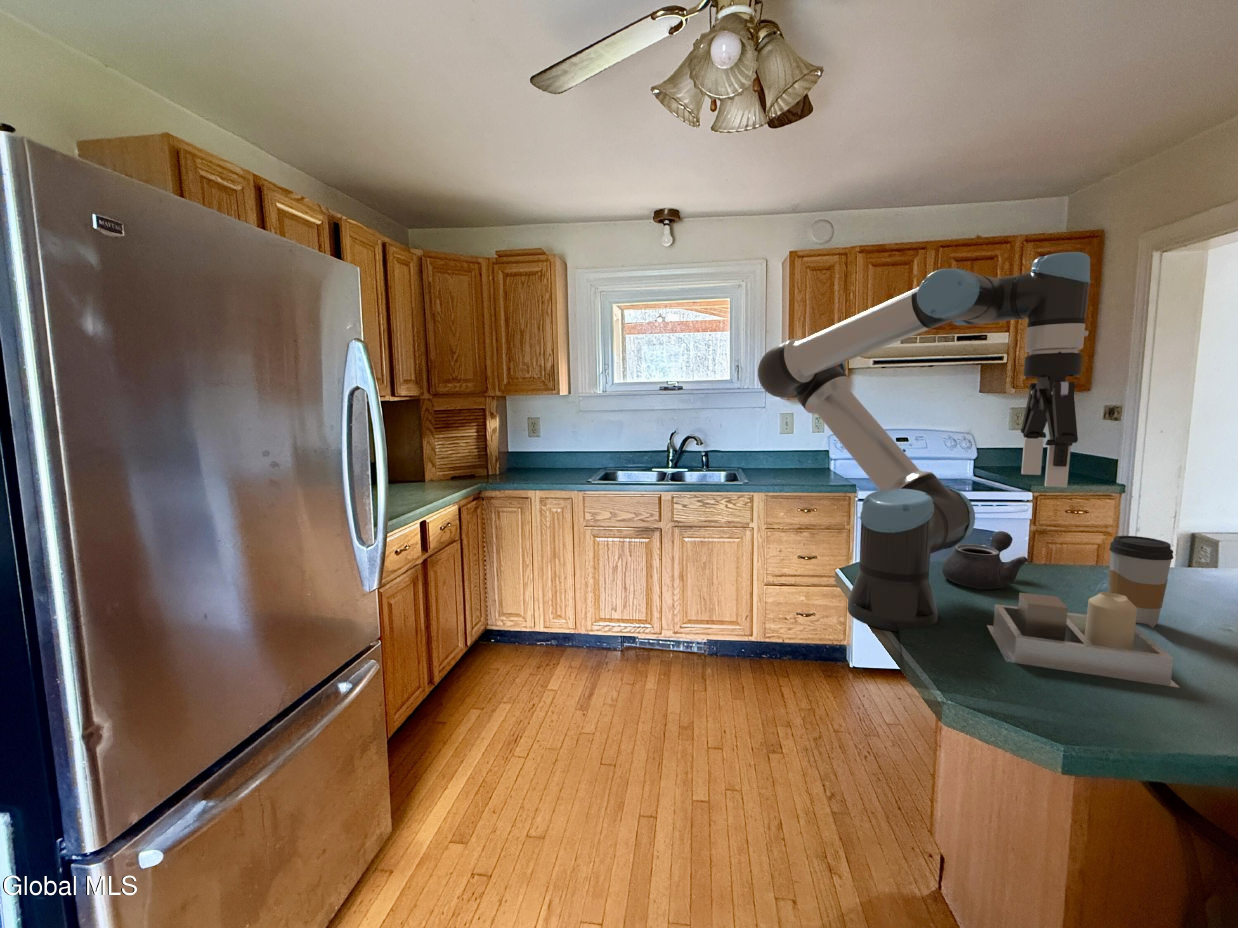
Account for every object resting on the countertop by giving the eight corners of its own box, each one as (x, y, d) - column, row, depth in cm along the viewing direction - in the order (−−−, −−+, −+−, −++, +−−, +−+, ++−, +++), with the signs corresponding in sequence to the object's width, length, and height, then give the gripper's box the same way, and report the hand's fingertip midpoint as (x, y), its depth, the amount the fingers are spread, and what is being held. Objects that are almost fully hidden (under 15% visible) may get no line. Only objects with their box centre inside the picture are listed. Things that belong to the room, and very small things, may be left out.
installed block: (1023, 651, 86) (1027, 603, 85) (1015, 638, 91) (1019, 592, 90) (1063, 657, 84) (1067, 607, 83) (1052, 643, 89) (1056, 596, 88)
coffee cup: (1178, 632, 94) (1188, 548, 92) (1121, 629, 96) (1131, 546, 94) (1142, 613, 102) (1151, 535, 100) (1091, 610, 104) (1099, 534, 102)
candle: (1107, 667, 81) (1114, 602, 80) (1073, 649, 86) (1079, 589, 85) (1141, 664, 81) (1149, 600, 80) (1105, 647, 87) (1112, 587, 86)
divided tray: (1005, 667, 83) (1008, 636, 83) (986, 630, 96) (988, 603, 95) (1178, 694, 75) (1183, 659, 75) (1132, 649, 88) (1135, 620, 88)
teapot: (1017, 601, 109) (1021, 553, 108) (933, 582, 120) (936, 538, 119) (1039, 579, 122) (1043, 535, 120) (961, 563, 133) (964, 523, 132)
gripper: (1114, 346, 77) (1100, 494, 80) (1056, 356, 100) (1046, 470, 102) (1049, 348, 80) (1037, 491, 83) (1007, 357, 103) (998, 469, 105)
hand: (1042, 480), depth 93 cm, fingers open, 13 cm apart
